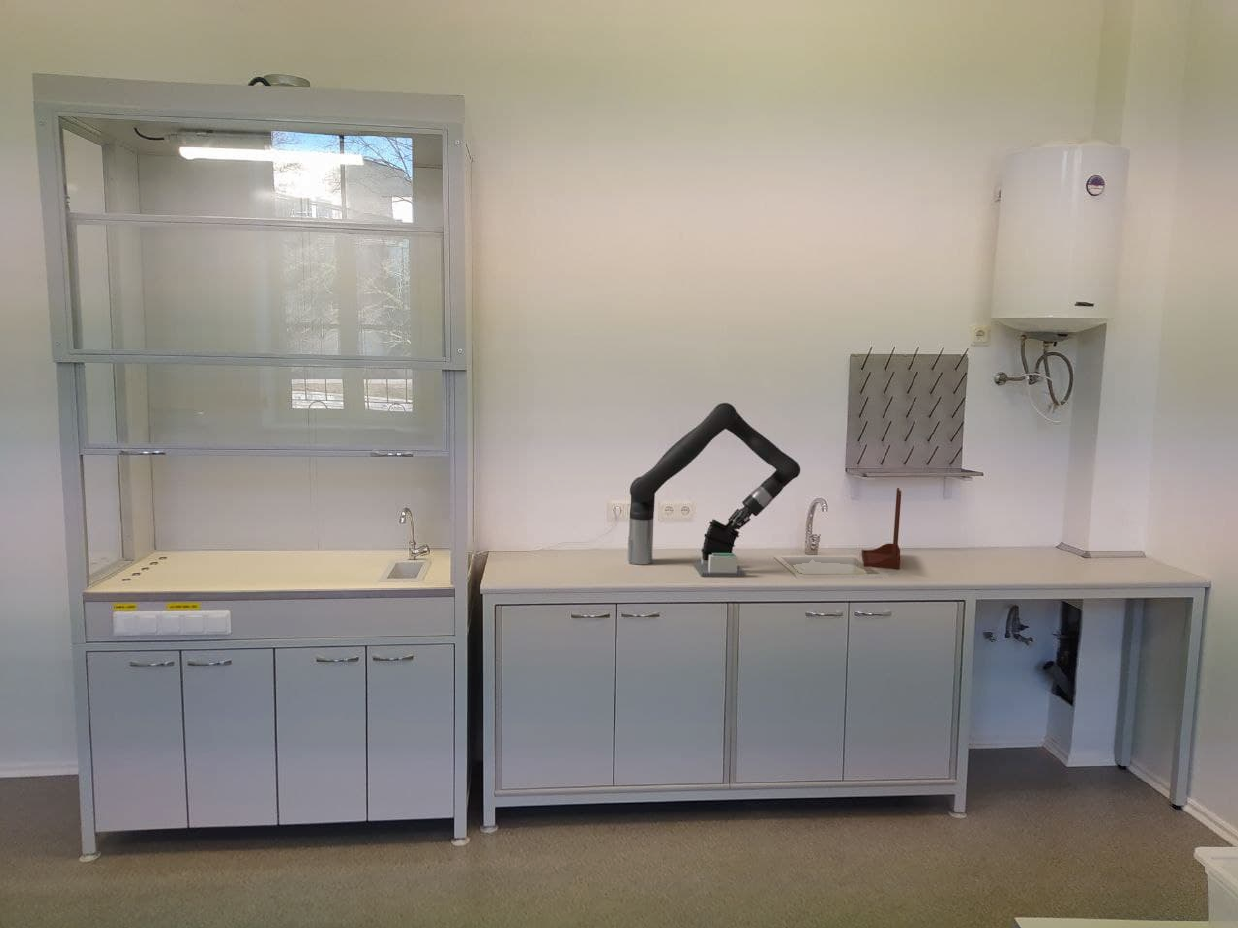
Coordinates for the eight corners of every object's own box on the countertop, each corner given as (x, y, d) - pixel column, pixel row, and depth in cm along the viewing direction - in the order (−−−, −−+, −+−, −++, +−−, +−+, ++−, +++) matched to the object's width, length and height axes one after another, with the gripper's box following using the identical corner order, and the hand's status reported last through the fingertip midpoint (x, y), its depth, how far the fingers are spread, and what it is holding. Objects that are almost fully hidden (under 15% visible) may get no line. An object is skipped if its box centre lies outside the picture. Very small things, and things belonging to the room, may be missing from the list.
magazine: (693, 554, 287) (711, 518, 286) (723, 568, 290) (741, 532, 290) (696, 556, 283) (714, 520, 283) (726, 570, 286) (744, 534, 286)
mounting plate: (701, 577, 279) (702, 554, 278) (693, 565, 295) (694, 544, 295) (745, 577, 280) (746, 555, 279) (734, 565, 297) (735, 544, 296)
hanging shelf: (861, 553, 325) (865, 483, 322) (894, 556, 322) (899, 485, 318) (864, 566, 302) (868, 491, 298) (899, 569, 299) (904, 493, 295)
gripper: (746, 490, 292) (713, 522, 293) (756, 496, 278) (721, 529, 279) (759, 504, 293) (727, 536, 294) (769, 511, 279) (735, 544, 280)
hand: (724, 532), depth 286 cm, fingers closed on magazine, 4 cm apart
